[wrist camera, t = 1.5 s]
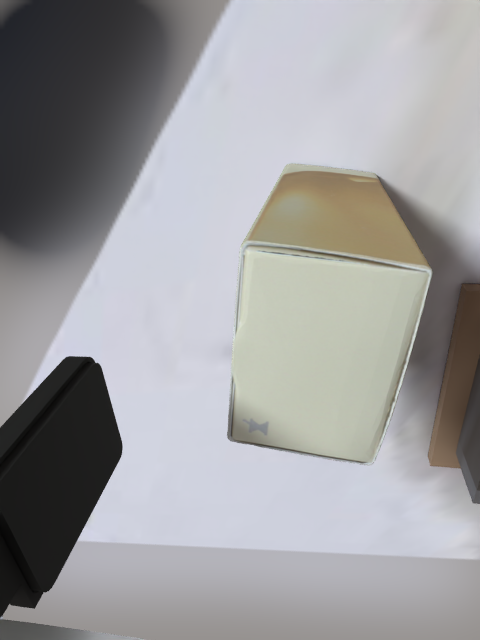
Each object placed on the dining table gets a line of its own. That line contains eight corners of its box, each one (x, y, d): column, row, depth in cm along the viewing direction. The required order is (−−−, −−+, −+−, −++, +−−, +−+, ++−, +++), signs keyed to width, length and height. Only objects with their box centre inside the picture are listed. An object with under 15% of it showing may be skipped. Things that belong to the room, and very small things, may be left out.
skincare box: (352, 291, 22) (374, 479, 12) (270, 280, 23) (223, 451, 12) (380, 164, 19) (446, 267, 9) (284, 155, 20) (236, 242, 9)
